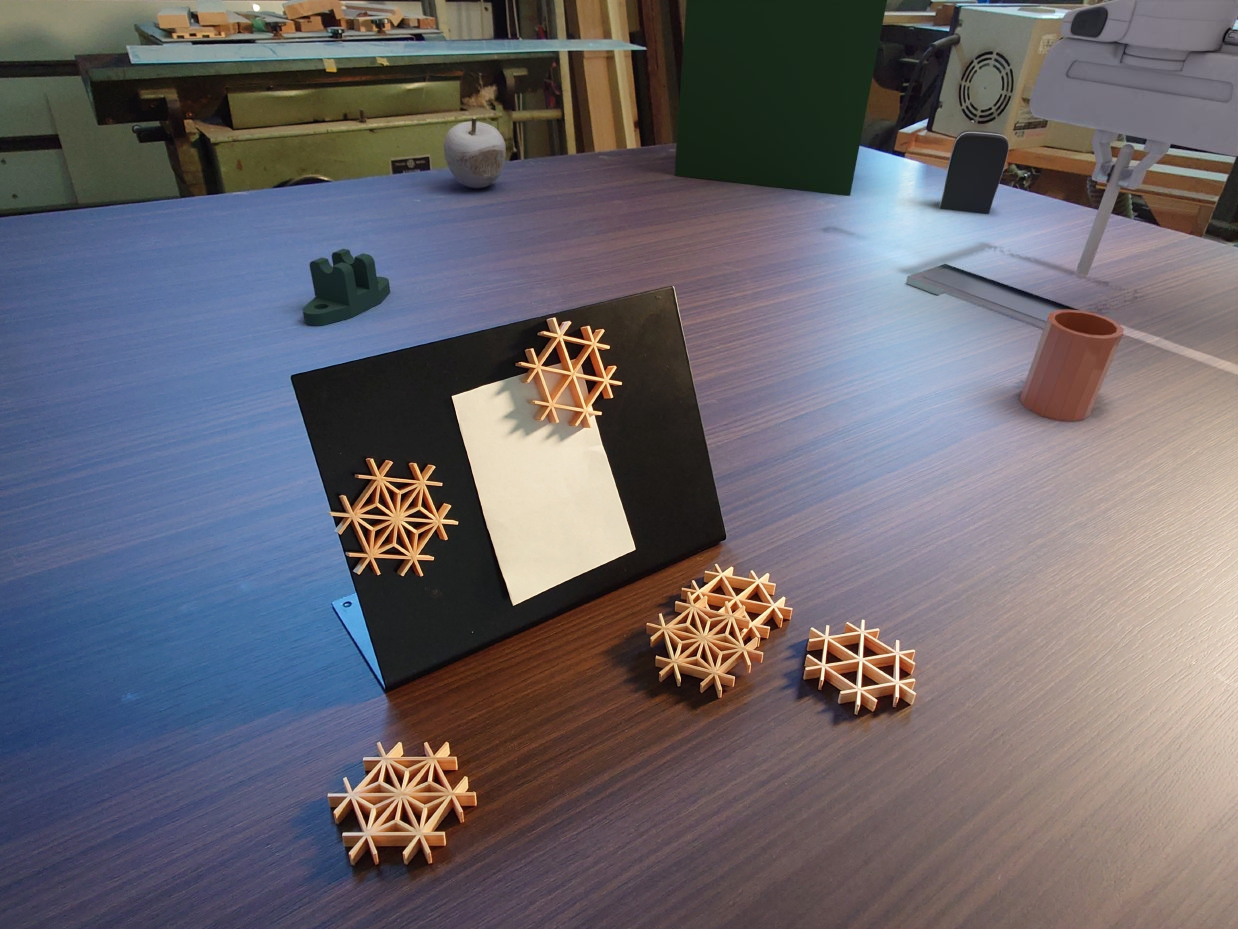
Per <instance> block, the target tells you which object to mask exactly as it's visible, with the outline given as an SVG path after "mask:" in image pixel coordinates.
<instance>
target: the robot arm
mask: <svg viewBox="0 0 1238 929" xmlns="http://www.w3.org/2000/svg"><path fill="white" fill-rule="evenodd" d="M1237 19H1238V0H1105V1H1103V2H1100V3H1096V4H1092V5H1091V4H1090V5H1086V6H1082V7H1079V8H1073V9H1071V10H1068V11H1067V12H1065V14H1064V15H1063V17H1062V19H1061V22H1060V26H1059V32H1060V35H1062V36H1063V37H1064V38H1061V39H1059V40H1058V41H1056V42H1055V43H1053V45H1052V46H1051V47H1050V49H1049V50H1048V52H1047V53H1046V55H1045V57H1044V59H1043V62H1042V64H1041V67H1040V68H1039V71H1038V74H1037V76H1036V79H1035V82H1034V84H1033V88H1032V92H1031V95H1030V98H1029V103H1028V104H1029V109H1030V112H1031V114H1032V116H1033V118H1038V119H1043V120H1048V121H1053V122H1058V123H1063V124H1069V125H1073V126H1077V127H1078V126H1079V127H1083V128H1088V129H1093V130H1094V133H1093V136H1092V139H1091V145H1092V150H1093V154H1094V160H1095V162H1096V163H1095V166H1094V170H1093V172H1092V175H1091V180H1092V181H1094V182H1100V183H1105V184H1108V182H1109V179H1110V176H1111V174H1112V171H1113V168H1114V165H1115V163H1116V161H1115V160H1113V153H1112V147H1111V146H1112V145H1111V143H1114V142H1117V140H1118V137H1119V135H1123V136H1129V137H1134V138H1138V139H1139V138H1140V139H1145V140H1146V141H1145V143H1144V147H1143V149H1142V151H1143V152H1144V153H1147V154H1146V155H1145V156H1144V157H1143V158H1142V159H1141V160H1140V161H1139V162H1138V163H1137V164H1136V165H1129V167H1125V168H1123V171H1122V173H1121V177H1122V178H1121V179H1119V181H1118V186H1120V187H1121V188H1125V189H1130V190H1133V191H1134V190H1137V189H1139V188H1141V185H1142V184H1143V181H1144V179H1145V177H1146V174H1147V171H1148V170H1149V169H1151V168H1152V167H1153V166H1154V165H1155V164H1156V163H1157V162H1158V161H1159V160H1161V159H1162V158H1163V157H1164V156H1165V155H1167V154H1168V152H1169V150H1170V147H1171V145H1176V146H1180V147H1185V148H1190V149H1196V150H1199V151H1206V152H1210V153H1216V154H1221V155H1226V156H1231V157H1238V29H1237V28H1236V29H1235V28H1234V27H1235V24H1236V22H1237Z"/></svg>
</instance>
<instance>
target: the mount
mask: <svg viewBox="0 0 1238 929" xmlns="http://www.w3.org/2000/svg"><path fill="white" fill-rule="evenodd" d="M331 261H332V265H331V263H330V260H329V259H328V258H327V257H318V258H316V259H314V260H312V261H310V262H309V271H310V276H311V280H312V286H313V291H314V298H312V300H310V301H309V302H308V303H307V304H306V305H305V306H304V307H303V308H302V314H303V319H304V323H305V324H306V325H308V326H311V327H320V326H321V327H322V326H326V325H329V324H333V323H338V322H341V321H345V320H348V319H352V318H354V317H356V316H358V315H360V314H362V313H364V312H366V311H368V310H370V309H372V308H375V307H376V306H378V305H380V304H382V302H384V301H385V299H386V298H387V297H388V296H389V295H390V294H391V286H390V280H389V278H388V277H384V276H377V268H376V262H375V259H374V258H373V256H372V255H371V254H368V253H364V252H363V253H361V254H358V255H356V256H354V257H353V255H352V253H351V250H350V249H346V248H341V249H339V250H336V251H333V252H332V253H331Z"/></svg>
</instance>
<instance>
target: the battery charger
mask: <svg viewBox="0 0 1238 929" xmlns="http://www.w3.org/2000/svg"><path fill="white" fill-rule="evenodd" d="M1009 151H1010V142H1009V139H1008V138H1007V137H1006V136H1005V135H1004V134H1002V133H999V132H996V131H995V132H994V131H986V130H974V129H973V130H971V129H970V130H969V129H967V130H964V131H961V132H960V133H959V134H958V135H957V136H956V137H955V139H954V142H953V145H952V148H951V152H950V156H949V160H948V164H947V168H946V174H945V177H944V178H945V179H944V184H943V189H942V194H941V198H940V202H939V206H938V208H939V209H940V210H946V211H954V212H955V211H956V212H963V213H964V212H965V213H971V214H972V213H973V214H982V215H990V213H991V210H992V207H993V202H994V200H995V198H996V194H997V191H998V189H999V185H1000V184H1001V183H1000V182H1001V179H1002V176H1003V172H1004V170H1005V166H1006V163H1007V160H1008V159H1007V158H1008V156H1009Z"/></svg>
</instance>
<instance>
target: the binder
mask: <svg viewBox="0 0 1238 929" xmlns="http://www.w3.org/2000/svg"><path fill="white" fill-rule="evenodd" d="M887 3H888V0H685V14H684V30H683V41H682V56H681V57H682V58H681V60H682V61H681V74H680V88H679V100H678V101H679V102H678V116H677V117H678V118H677V132H676V144H675V145H676V147H675V160H674V161H675V162H674V176H676V177H685V178H694V179H701V180H703V179H704V180H711V181H719V182H729V183H736V184H737V183H738V184H745V185H753V186H754V185H755V186H764V187H772V188H780V189H787V190H797V191H805V192H806V191H807V192H815V193H823V194H824V193H825V194H832V195H840V194H841V195H840V196H848V195H850V196H851V193H852V187H853V182H854V177H855V172H856V166H857V161H858V157H859V156H858V155H859V152H860V147H861V146H860V145H861V140H862V135H863V130H864V124H865V119H866V115H867V110H868V103H869V99H870V93H871V88H872V84H873V78H874V71H875V66H876V62H877V55H878V51H879V47H880V46H879V45H880V41H881V40H880V39H881V34H882V30H883V25H884V19H885V13H886V8H887Z"/></svg>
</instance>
